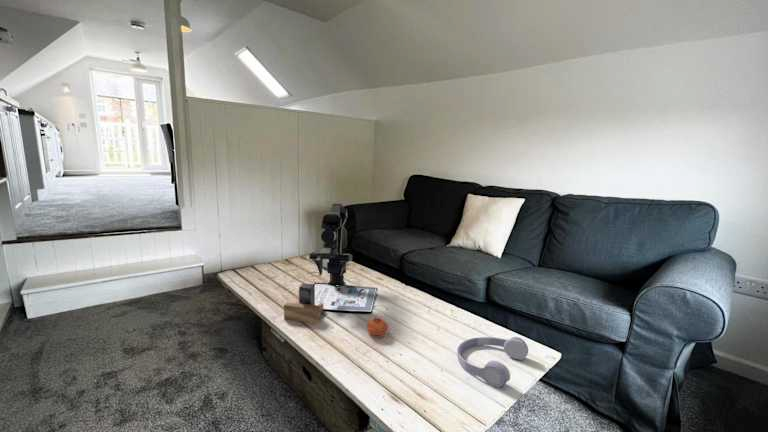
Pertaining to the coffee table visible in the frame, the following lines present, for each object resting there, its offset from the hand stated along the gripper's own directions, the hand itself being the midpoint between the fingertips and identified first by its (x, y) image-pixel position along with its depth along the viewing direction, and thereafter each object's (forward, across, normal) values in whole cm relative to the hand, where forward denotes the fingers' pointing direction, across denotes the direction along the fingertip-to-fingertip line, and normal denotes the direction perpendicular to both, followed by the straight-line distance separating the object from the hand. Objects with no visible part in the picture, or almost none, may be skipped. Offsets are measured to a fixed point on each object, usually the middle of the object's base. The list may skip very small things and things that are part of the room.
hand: (330, 275), depth 155 cm
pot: (+17, +28, -22) cm, 39 cm away
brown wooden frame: (+14, -4, -14) cm, 20 cm away
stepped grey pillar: (+14, -4, -14) cm, 20 cm away
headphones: (+19, +67, -28) cm, 75 cm away
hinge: (+5, -18, +42) cm, 45 cm away
